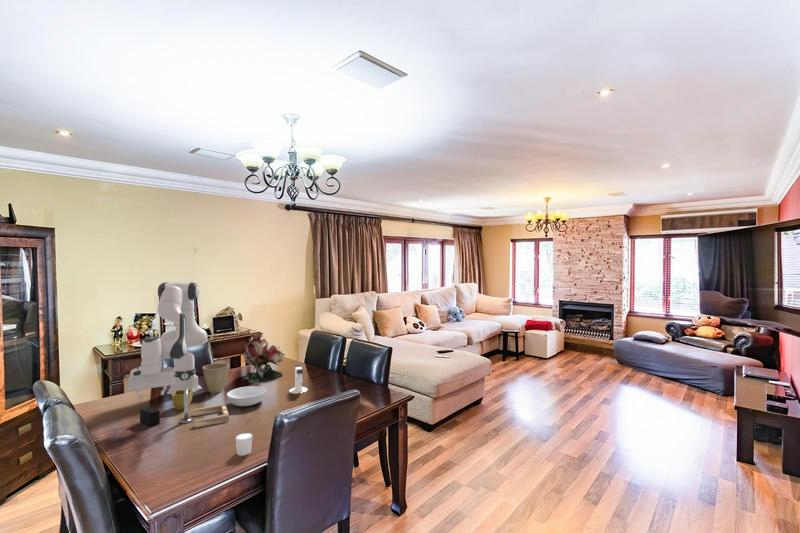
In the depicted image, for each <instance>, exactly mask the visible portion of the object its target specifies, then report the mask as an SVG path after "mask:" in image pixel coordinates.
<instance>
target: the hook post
mask: <svg viewBox="0 0 800 533" xmlns="http://www.w3.org/2000/svg"><path fill="white" fill-rule="evenodd" d="M193 421H194V418H193V417H192V416H191V417H190V416H189V406H188V390H184V409H183V418H181V419H179V422H178V423H179V424H183V425H184V424H190V423H191V422H193Z"/></svg>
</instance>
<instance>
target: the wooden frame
mask: <svg viewBox="0 0 800 533" xmlns="http://www.w3.org/2000/svg"><path fill="white" fill-rule="evenodd" d="M219 412H220V413H222V414H220V415H214V416H211V417H210V416H209V417H205V418H200V419H199V418H198V419H195V420H194V427H195V428H200V427H205V426H210V425H211V426H212V425H216V424H220V423H226V422H229V420H230V414H229V412H228V408H227V406H226V405H225V404H224V403H223V404H222V403H221V404H216V405H210V406H206V407H200V408H193V409H192V413H193V414H192V416H193V417H197V416H204V415H207V414H213V413H214V414H215V413H219Z"/></svg>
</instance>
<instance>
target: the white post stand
mask: <svg viewBox="0 0 800 533" xmlns="http://www.w3.org/2000/svg"><path fill="white" fill-rule="evenodd" d="M303 380H304V370H303V368H302V365H300V364H296V365H295V367H294V387H292V388H290V389H289V393H290V394H295V395H297V394H298V393H299V394H303V392H304V393H306V392H308V391H307V390H309V389H308V388H307V387H304V383H303Z"/></svg>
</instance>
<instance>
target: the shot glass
mask: <svg viewBox="0 0 800 533" xmlns="http://www.w3.org/2000/svg"><path fill="white" fill-rule="evenodd" d="M253 436H254V434H253V433H251V432H244V433H243V432H242V433H239V434H238V435H236V436H235V448H236V454H237V455H238V456H246V455H249V454H251V452H252V444H253Z"/></svg>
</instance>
